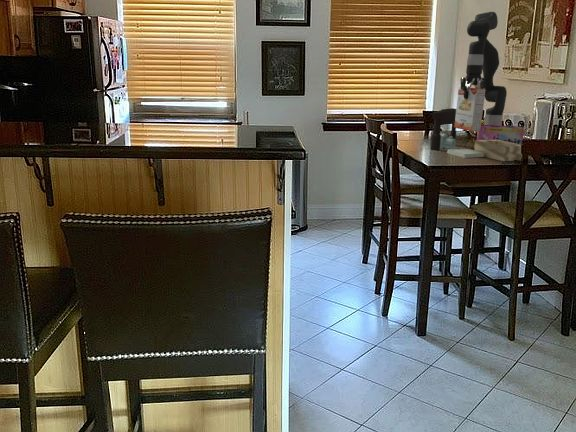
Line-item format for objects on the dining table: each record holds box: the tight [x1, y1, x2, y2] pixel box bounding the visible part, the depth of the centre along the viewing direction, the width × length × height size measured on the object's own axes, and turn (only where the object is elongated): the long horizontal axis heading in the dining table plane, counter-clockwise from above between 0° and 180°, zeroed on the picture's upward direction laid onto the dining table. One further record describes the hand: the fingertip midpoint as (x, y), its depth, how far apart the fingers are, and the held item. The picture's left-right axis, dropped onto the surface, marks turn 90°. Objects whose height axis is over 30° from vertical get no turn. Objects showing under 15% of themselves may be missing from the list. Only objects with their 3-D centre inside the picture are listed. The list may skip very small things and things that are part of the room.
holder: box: [474, 139, 522, 162], centre depth 289 cm, size 14×22×7 cm, turn 21°
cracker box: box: [454, 86, 486, 132], centre depth 287 cm, size 14×6×21 cm, turn 21°
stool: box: [430, 108, 459, 151], centre depth 313 cm, size 16×21×33 cm
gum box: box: [476, 124, 526, 144], centre depth 305 cm, size 24×8×14 cm, turn 75°
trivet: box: [447, 148, 484, 159], centre depth 293 cm, size 12×14×2 cm
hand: (471, 98), depth 285 cm, fingers closed on cracker box, 6 cm apart
